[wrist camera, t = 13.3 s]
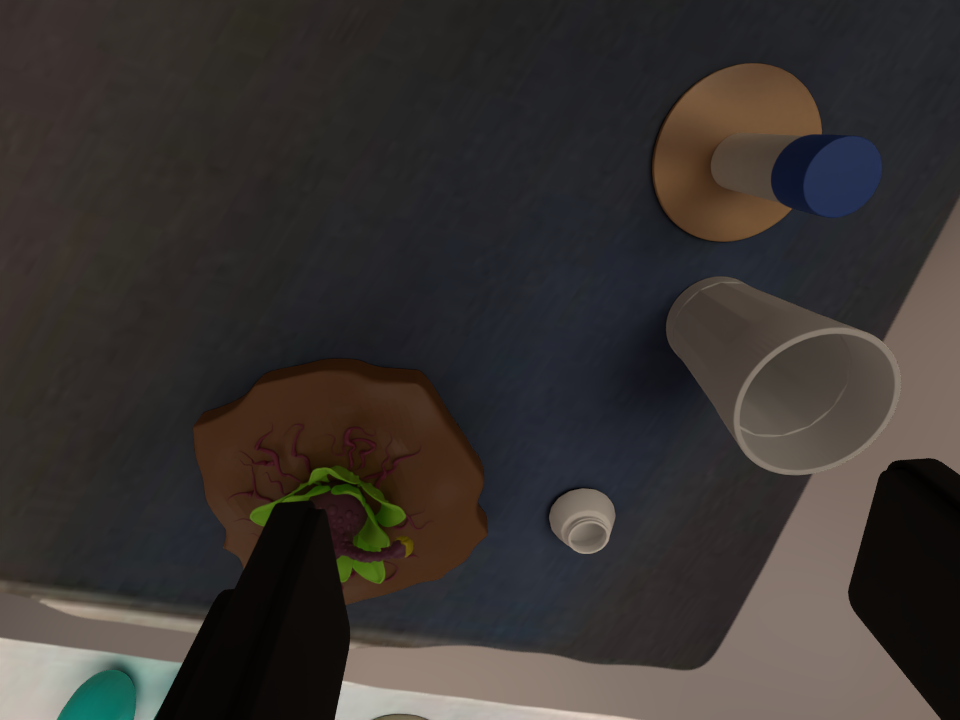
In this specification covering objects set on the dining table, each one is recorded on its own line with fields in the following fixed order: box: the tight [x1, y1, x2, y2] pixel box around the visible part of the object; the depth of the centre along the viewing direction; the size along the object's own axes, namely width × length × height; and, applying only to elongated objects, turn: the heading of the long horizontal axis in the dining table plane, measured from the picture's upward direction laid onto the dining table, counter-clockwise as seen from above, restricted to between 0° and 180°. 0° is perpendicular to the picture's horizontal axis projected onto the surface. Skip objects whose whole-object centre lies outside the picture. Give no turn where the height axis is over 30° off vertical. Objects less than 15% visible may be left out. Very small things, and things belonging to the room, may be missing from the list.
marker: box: [711, 133, 882, 218], centre depth 29 cm, size 3×3×10 cm
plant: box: [193, 359, 488, 605], centre depth 37 cm, size 20×20×11 cm
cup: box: [666, 276, 901, 475], centre depth 32 cm, size 8×8×12 cm
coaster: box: [652, 63, 822, 242], centre depth 34 cm, size 10×10×1 cm
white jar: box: [549, 488, 616, 554], centre depth 42 cm, size 5×3×5 cm
